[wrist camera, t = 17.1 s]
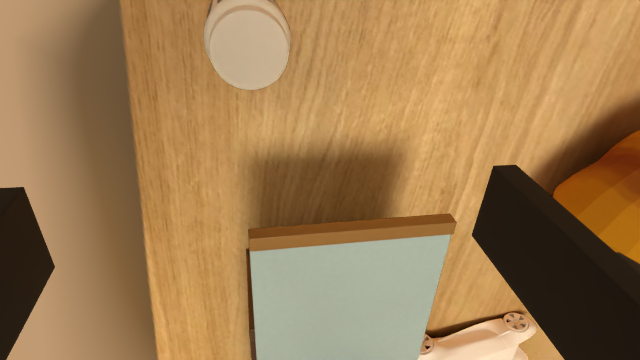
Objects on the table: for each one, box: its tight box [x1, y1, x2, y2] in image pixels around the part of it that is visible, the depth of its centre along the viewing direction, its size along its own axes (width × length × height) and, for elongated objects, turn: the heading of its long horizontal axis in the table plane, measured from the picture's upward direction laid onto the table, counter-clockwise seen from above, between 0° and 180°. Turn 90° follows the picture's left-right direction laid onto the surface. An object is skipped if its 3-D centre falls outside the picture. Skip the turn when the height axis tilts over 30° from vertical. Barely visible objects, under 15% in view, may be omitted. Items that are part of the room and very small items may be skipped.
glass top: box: [248, 213, 456, 360], centre depth 29 cm, size 13×18×4 cm
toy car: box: [418, 313, 537, 360], centre depth 50 cm, size 18×8×4 cm, turn 95°
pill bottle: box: [203, 0, 291, 90], centre depth 24 cm, size 5×5×8 cm
